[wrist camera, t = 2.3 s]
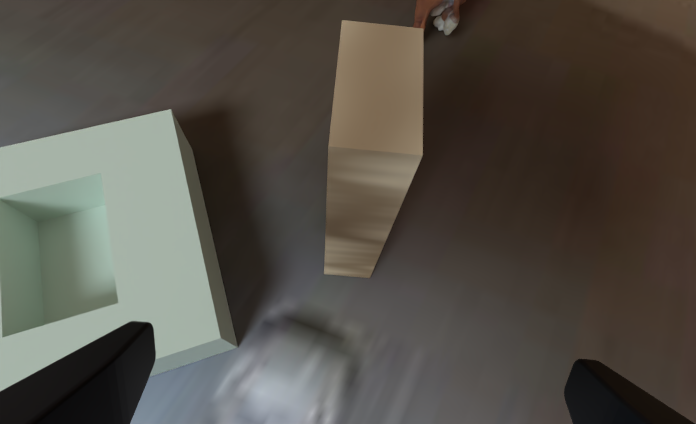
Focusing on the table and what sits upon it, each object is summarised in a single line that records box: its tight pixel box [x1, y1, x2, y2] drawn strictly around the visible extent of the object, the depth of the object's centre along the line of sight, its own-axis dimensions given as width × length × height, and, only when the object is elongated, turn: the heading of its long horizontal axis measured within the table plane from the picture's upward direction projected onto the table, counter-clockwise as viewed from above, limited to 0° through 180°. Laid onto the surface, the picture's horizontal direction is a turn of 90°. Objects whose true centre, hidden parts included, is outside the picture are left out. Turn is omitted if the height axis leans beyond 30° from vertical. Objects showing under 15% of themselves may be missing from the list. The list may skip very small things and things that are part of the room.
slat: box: [324, 20, 423, 278], centre depth 18 cm, size 2×4×13 cm, turn 176°
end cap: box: [0, 109, 238, 391], centre depth 21 cm, size 12×12×4 cm
